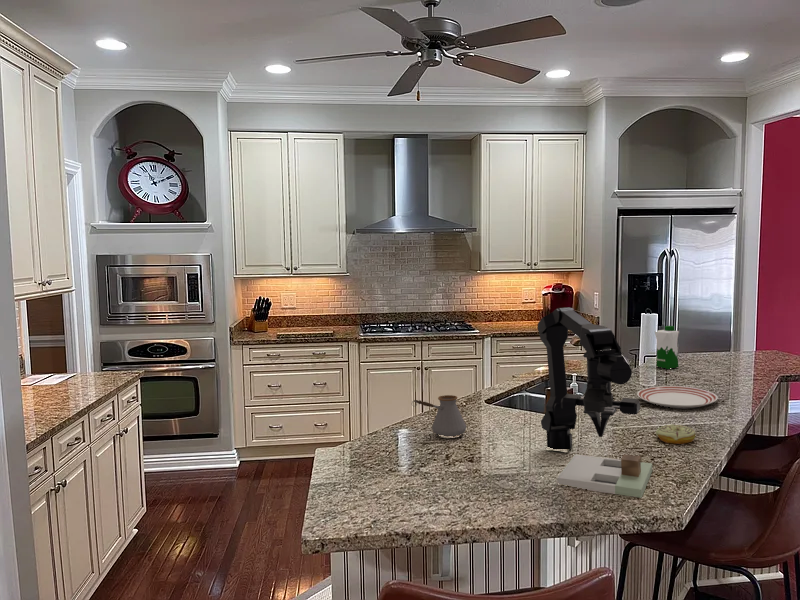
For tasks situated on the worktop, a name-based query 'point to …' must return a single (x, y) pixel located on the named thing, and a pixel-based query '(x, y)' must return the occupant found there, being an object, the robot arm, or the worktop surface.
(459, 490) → the worktop surface
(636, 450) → the worktop surface
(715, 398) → the dinner plate
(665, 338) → the milk carton
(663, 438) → the decorated donut
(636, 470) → the walnut block
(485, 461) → the worktop surface
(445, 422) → the coffee pot
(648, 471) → the trap deck
